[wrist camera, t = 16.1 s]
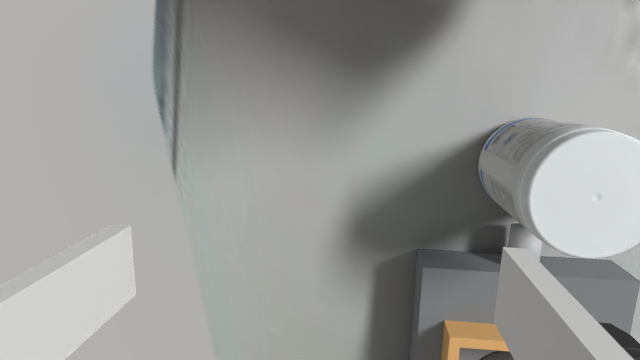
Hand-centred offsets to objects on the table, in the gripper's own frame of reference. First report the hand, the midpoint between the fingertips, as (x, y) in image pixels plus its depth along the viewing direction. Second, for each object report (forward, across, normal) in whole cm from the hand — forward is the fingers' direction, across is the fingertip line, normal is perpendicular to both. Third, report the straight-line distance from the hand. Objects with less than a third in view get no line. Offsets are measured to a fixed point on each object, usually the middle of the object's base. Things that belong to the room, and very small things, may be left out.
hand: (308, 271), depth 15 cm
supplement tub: (+32, +18, -1) cm, 37 cm away
